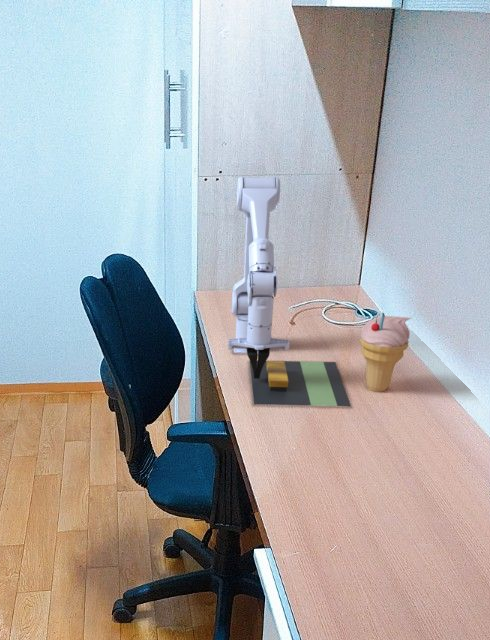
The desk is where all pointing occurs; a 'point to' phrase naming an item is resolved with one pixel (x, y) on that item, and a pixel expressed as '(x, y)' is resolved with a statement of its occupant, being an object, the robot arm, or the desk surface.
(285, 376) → the gold bar
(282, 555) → the desk surface
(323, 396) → the desk mat
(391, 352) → the ice cream cone
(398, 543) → the desk surface
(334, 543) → the desk surface
